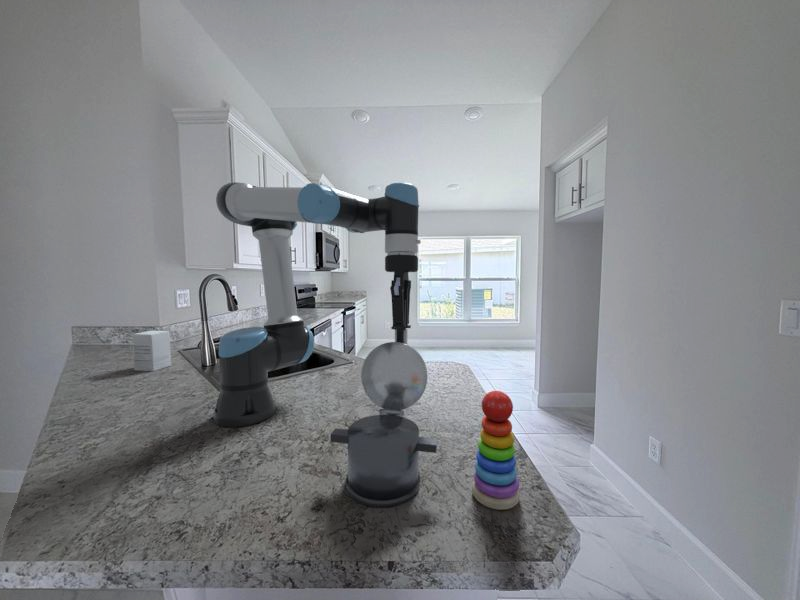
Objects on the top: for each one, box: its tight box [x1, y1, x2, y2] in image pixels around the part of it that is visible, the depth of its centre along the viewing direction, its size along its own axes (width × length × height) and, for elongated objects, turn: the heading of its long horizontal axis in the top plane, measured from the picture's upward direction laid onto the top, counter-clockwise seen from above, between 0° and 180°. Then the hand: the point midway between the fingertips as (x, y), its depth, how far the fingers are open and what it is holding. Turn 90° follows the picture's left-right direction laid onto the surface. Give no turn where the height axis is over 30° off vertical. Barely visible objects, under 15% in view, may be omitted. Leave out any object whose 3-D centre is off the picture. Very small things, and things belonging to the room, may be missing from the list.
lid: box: [360, 341, 428, 418], centre depth 69 cm, size 14×15×4 cm
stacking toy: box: [471, 390, 521, 511], centre depth 56 cm, size 8×8×19 cm
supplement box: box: [131, 330, 172, 372], centre depth 134 cm, size 9×9×15 cm
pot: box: [330, 414, 438, 509], centre depth 60 cm, size 20×14×10 cm
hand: (401, 356), depth 76 cm, fingers closed
